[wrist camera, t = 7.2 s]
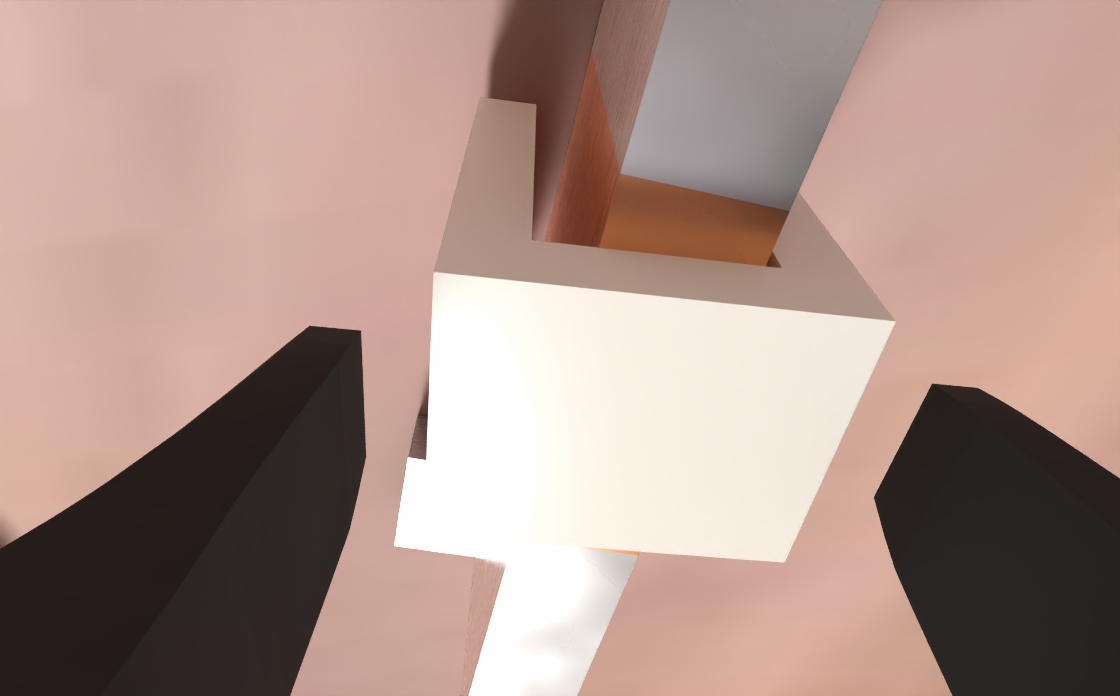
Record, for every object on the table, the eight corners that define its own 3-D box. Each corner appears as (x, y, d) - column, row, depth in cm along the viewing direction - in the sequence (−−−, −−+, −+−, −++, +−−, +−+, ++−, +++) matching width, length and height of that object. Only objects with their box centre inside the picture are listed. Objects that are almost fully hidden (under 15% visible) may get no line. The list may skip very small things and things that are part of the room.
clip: (754, 132, 13) (895, 321, 8) (701, 317, 16) (784, 562, 10) (480, 97, 13) (433, 272, 7) (466, 292, 15) (423, 535, 10)
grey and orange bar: (1058, -530, 9) (1670, -986, 4) (622, 533, 20) (648, 756, 15) (597, -715, 8) (676, -1571, 3) (404, 500, 19) (355, 726, 14)
